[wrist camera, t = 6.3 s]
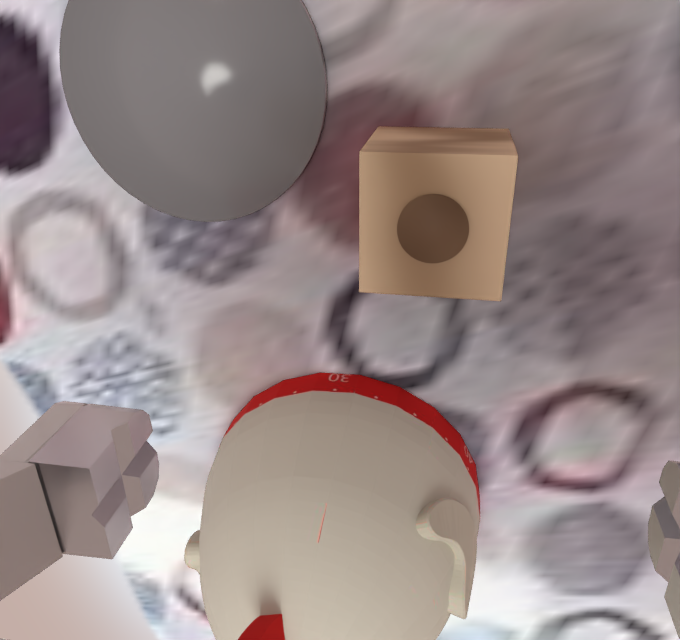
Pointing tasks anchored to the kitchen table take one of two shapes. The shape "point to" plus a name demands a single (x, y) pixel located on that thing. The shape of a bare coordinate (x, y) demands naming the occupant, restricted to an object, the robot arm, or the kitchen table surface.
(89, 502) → the robot arm
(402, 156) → the oak block
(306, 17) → the coaster
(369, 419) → the kitchen timer
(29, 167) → the kitchen table surface
